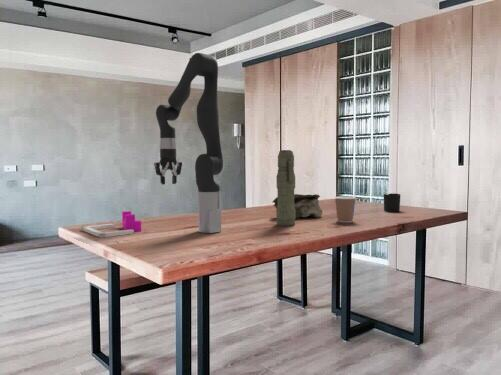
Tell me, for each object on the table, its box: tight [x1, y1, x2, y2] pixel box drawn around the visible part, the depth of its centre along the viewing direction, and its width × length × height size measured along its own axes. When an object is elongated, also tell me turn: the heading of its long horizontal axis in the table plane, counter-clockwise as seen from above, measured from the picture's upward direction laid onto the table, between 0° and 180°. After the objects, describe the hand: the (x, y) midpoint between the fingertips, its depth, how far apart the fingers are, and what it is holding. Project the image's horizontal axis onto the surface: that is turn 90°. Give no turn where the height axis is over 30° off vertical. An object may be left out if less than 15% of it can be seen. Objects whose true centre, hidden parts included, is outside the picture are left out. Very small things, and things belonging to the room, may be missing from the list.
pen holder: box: [383, 193, 401, 213], centre depth 248 cm, size 9×9×10 cm
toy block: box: [121, 210, 142, 233], centre depth 187 cm, size 15×6×8 cm, turn 23°
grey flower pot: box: [334, 195, 357, 223], centre depth 207 cm, size 10×10×12 cm
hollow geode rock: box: [272, 193, 323, 219], centre depth 221 cm, size 28×13×15 cm
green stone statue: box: [275, 149, 296, 227], centre depth 197 cm, size 9×12×35 cm
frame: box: [81, 223, 135, 239], centre depth 181 cm, size 23×14×2 cm, turn 39°
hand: (168, 184), depth 198 cm, fingers open, 5 cm apart
